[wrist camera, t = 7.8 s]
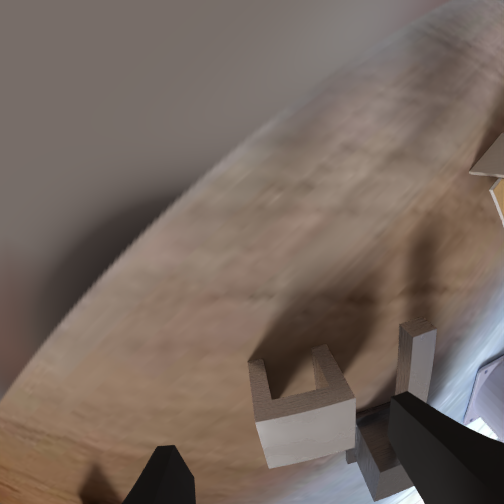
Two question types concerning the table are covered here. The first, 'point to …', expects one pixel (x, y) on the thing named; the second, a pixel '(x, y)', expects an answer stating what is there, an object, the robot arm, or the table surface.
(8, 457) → the table surface
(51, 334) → the table surface
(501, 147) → the architectural model
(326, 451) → the bracket
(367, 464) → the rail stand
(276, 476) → the table surface
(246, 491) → the table surface
